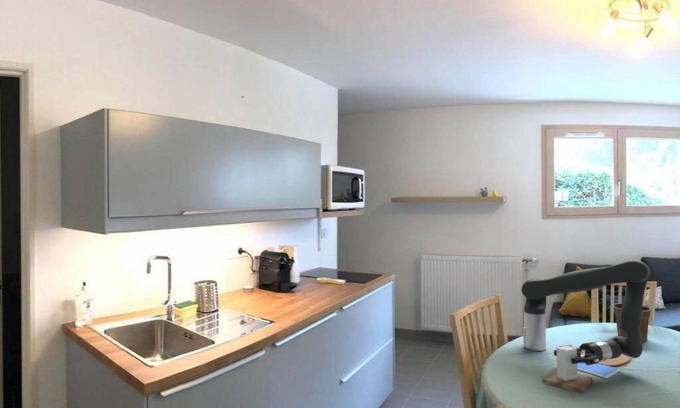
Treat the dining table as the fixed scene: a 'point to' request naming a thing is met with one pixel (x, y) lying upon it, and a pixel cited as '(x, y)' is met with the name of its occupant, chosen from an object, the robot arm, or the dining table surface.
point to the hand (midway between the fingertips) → (563, 357)
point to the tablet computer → (598, 369)
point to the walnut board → (574, 385)
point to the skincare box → (566, 363)
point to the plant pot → (643, 325)
